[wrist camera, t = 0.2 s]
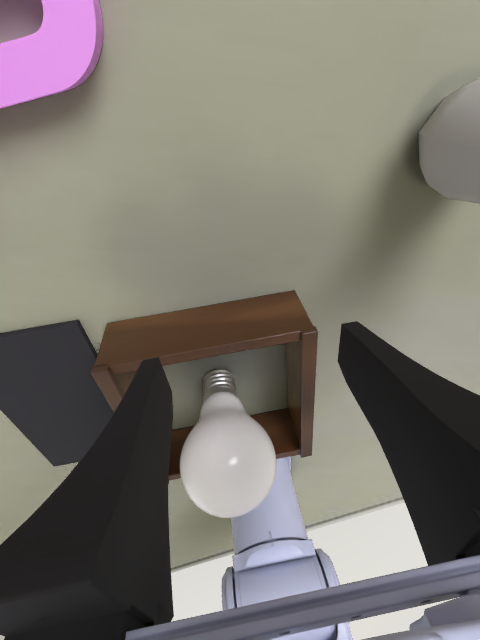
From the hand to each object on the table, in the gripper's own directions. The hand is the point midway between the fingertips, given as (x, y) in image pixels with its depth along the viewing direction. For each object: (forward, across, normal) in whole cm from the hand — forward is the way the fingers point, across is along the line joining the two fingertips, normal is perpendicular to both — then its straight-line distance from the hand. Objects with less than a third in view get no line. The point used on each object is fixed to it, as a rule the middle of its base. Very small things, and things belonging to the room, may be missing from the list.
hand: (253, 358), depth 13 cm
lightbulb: (+10, +2, +11) cm, 15 cm away
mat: (+10, +15, +11) cm, 22 cm away
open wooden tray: (+10, +2, +11) cm, 15 cm away
